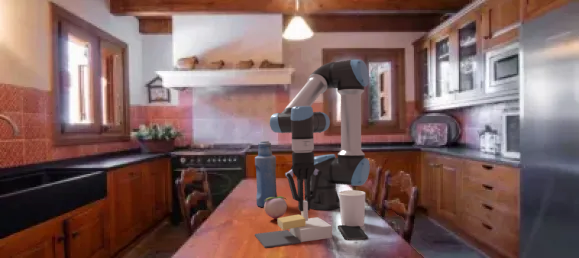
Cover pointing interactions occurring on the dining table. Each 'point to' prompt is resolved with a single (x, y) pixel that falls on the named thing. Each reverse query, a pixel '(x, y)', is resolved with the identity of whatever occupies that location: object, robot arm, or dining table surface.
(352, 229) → the phone
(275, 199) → the decorative fruit
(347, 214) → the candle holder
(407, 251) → the dining table surface
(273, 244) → the dark grey mat
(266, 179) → the bottle
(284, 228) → the ochre tile
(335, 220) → the dining table surface
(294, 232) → the white stand
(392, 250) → the dining table surface
